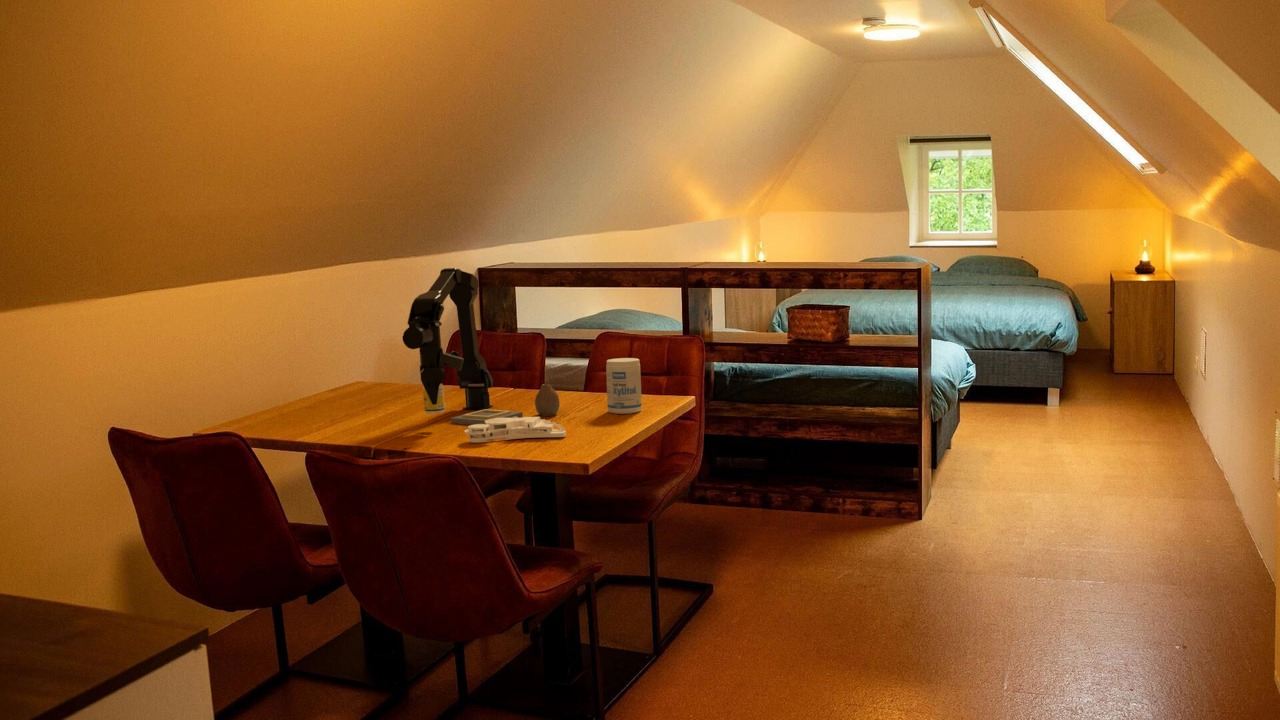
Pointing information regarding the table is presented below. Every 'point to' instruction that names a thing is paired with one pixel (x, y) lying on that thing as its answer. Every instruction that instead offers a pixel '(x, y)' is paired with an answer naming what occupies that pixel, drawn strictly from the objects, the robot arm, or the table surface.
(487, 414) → the grey square frame tile
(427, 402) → the supplement bottle
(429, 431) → the table surface
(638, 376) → the supplement tub
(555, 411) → the vase
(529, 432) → the molded plastic bracket
